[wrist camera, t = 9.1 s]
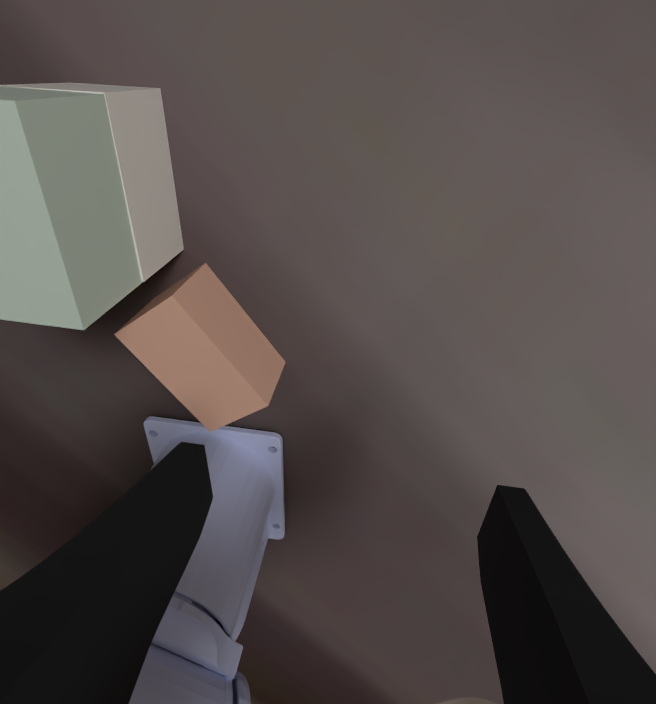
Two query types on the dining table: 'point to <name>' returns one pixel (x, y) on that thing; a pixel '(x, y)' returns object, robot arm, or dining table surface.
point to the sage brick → (61, 210)
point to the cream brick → (140, 168)
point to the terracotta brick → (205, 350)
